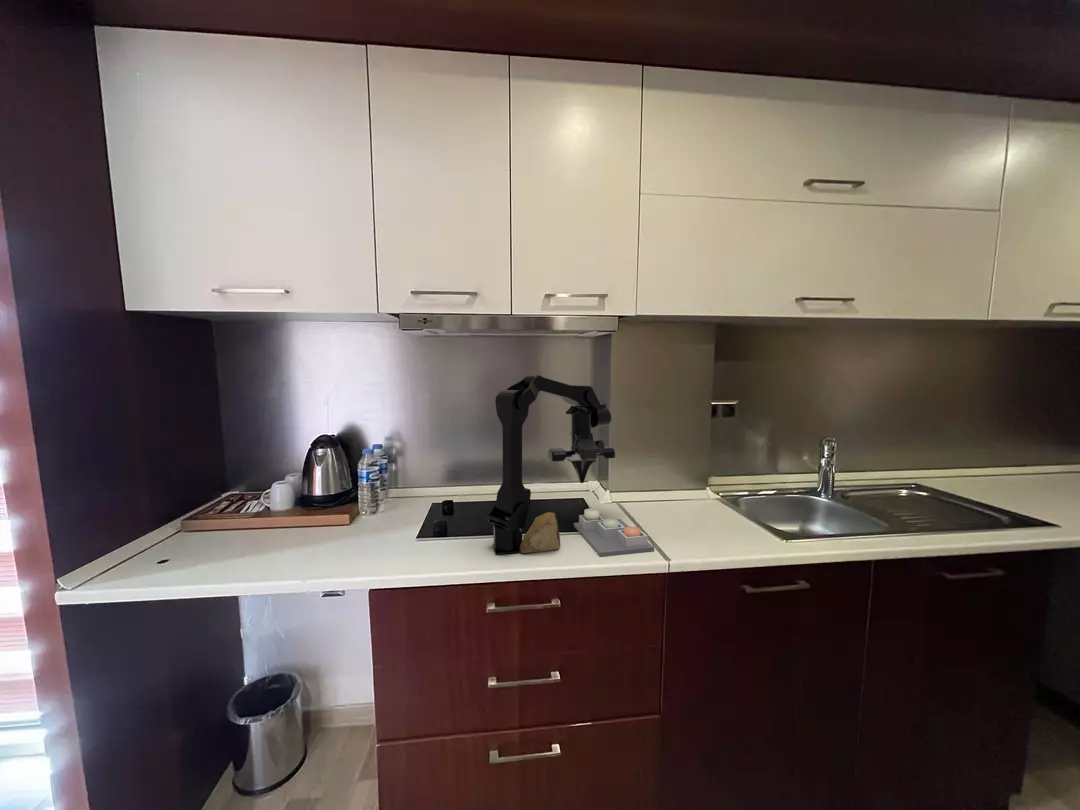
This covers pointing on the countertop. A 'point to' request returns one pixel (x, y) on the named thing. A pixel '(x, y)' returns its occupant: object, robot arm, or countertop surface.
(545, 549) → the rock
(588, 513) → the cream button
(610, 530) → the panel
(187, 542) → the countertop surface
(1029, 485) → the countertop surface
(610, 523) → the sage button
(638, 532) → the terracotta button
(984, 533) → the countertop surface
